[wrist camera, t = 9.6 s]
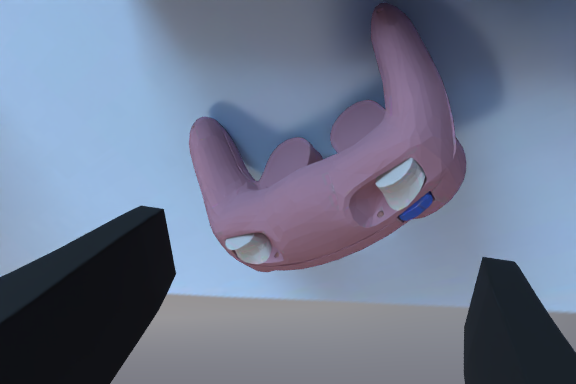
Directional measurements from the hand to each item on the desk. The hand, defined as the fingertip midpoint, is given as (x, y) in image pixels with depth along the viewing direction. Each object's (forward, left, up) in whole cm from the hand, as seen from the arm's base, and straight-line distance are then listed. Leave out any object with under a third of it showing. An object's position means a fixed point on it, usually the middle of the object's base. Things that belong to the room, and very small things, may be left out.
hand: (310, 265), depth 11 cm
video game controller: (+1, +1, -9) cm, 10 cm away
